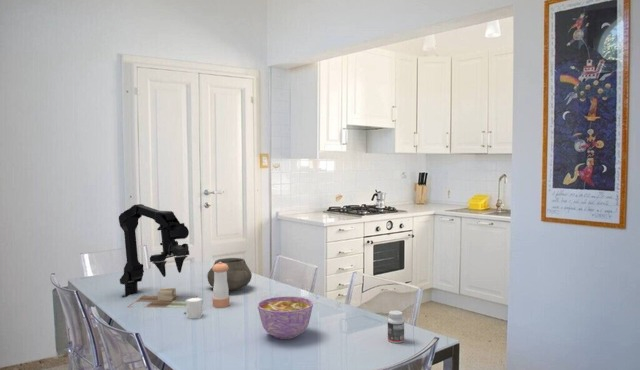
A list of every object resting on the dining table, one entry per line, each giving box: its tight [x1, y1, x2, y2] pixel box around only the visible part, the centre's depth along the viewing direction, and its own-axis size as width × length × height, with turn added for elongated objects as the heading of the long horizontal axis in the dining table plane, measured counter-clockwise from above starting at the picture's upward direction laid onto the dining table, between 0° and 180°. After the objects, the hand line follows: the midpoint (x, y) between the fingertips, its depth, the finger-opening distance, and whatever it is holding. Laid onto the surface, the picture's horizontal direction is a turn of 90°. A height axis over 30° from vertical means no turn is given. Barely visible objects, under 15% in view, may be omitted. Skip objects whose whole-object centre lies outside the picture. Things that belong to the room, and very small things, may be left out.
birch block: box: [157, 287, 177, 300], centre depth 231 cm, size 6×6×4 cm
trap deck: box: [127, 295, 198, 308], centre depth 227 cm, size 18×26×2 cm
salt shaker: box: [211, 262, 231, 308], centre depth 224 cm, size 7×7×19 cm
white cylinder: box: [185, 297, 204, 320], centre depth 209 cm, size 7×7×7 cm
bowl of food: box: [257, 295, 314, 340], centre depth 185 cm, size 20×20×12 cm
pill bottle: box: [387, 310, 405, 344], centre depth 178 cm, size 6×6×10 cm
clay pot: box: [206, 257, 253, 292], centre depth 250 cm, size 22×21×15 cm
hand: (172, 274), depth 228 cm, fingers open, 9 cm apart
